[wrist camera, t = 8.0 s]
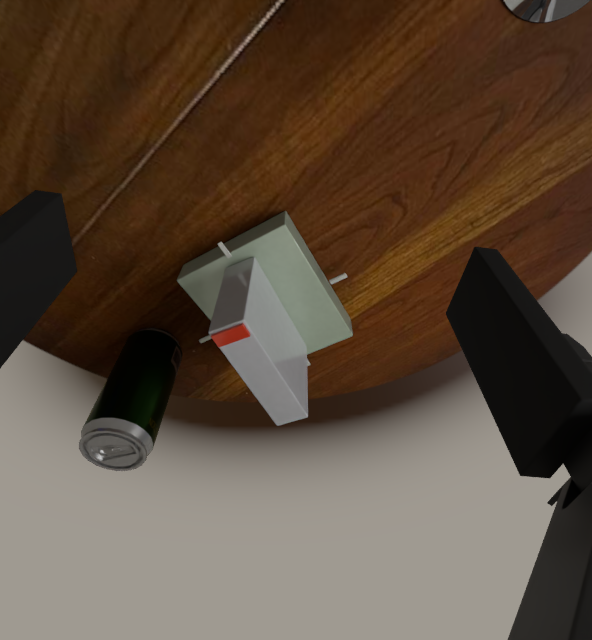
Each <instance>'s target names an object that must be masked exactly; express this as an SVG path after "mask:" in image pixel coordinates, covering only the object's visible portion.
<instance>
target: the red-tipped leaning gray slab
mask: <svg viewBox="0 0 592 640" xmlns="http://www.w3.org/2000/svg"><path fill="white" fill-rule="evenodd" d="M208 333H209V335H210V336H211V338H212V339H213V341H214V342H215V343H216V345H217V346H218V347H219V348H220V350H221V351H222V352H223V354H224V355H225V356H226V358H227V359H228V360H229V362H230V363H231V364H232V366H233V367H234V368H235V370H236V371H237V372H238V374H239V375H240V376H241V378H242V379H243V381H244V382H245V383H246V385H247V386H248V387H249V389H250V390H251V391H252V393H253V394H254V395H255V397H256V398H257V399H258V401H259V402H260V403H261V404H262V406H263V407H264V409H265V410H266V411H267V413H268V414H269V416H270V417H271V418H272V419H273V421H274V422H275V424H276V425H277V426H279V425H282V424H286V423H289V422H293V421H296V420H300V419H303V418H306V417H308V387H307V346H306V345H305V343H304V341H303V339H302V338H301V336H300V334H299V332H298V331H297V329H296V327H295V326H294V324H293V322H292V320H291V319H290V317H289V315H288V313H287V312H286V310H285V308H284V306H283V305H282V303H281V301H280V300H279V298H278V296H277V294H276V293H275V291H274V289H273V287H272V286H271V284H270V282H269V281H268V279H267V277H266V275H265V274H264V272H263V270H262V268H261V267H260V265H259V263H258V261H257V260H256V258H255V257H252V258H250V259H247V260H245V261H242V262H240V263H237V264H235V265H232V266H230V267H228V268H226V269H225V272H224V276H223V279H222V283H221V287H220V291H219V294H218V298H217V302H216V305H215V309H214V313H213V316H212V320H211V324H210V328H209V331H208Z"/></svg>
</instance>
